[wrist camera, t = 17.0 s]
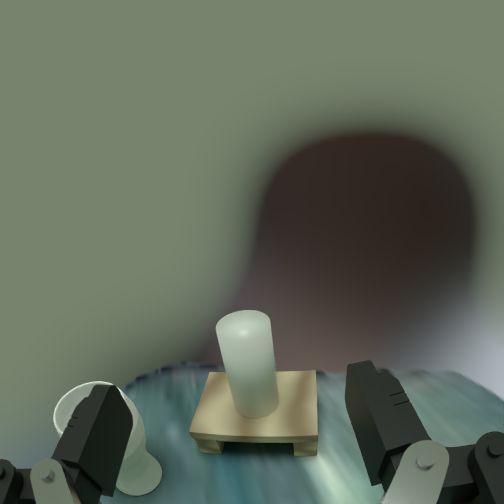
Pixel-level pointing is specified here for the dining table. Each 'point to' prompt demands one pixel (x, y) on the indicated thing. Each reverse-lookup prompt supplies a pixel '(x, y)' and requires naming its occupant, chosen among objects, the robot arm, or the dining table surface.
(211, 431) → the shelf stand
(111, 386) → the robot arm
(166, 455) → the dining table surface
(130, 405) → the cup
